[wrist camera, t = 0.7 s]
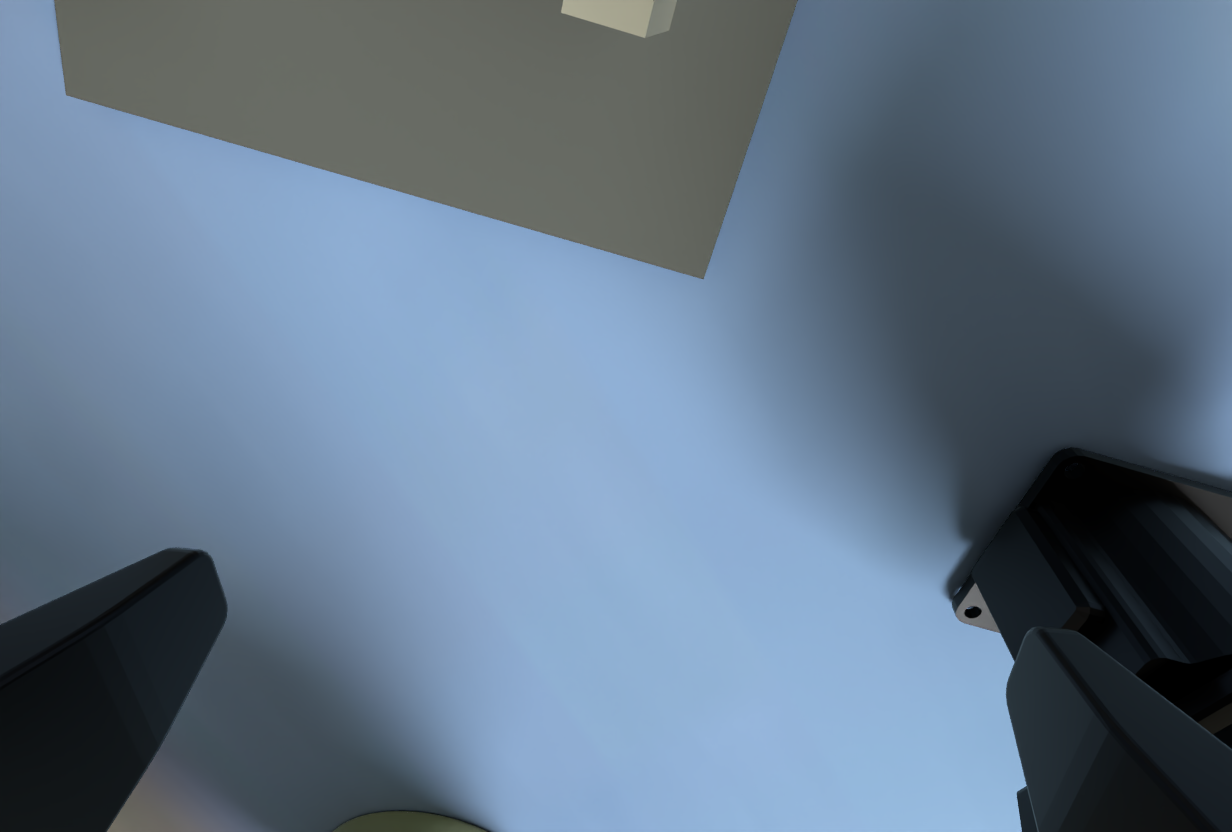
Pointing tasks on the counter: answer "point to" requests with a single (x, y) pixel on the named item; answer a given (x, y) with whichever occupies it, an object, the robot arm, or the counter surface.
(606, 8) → the tile
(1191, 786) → the robot arm
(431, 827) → the lamp
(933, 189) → the counter surface
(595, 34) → the mat
